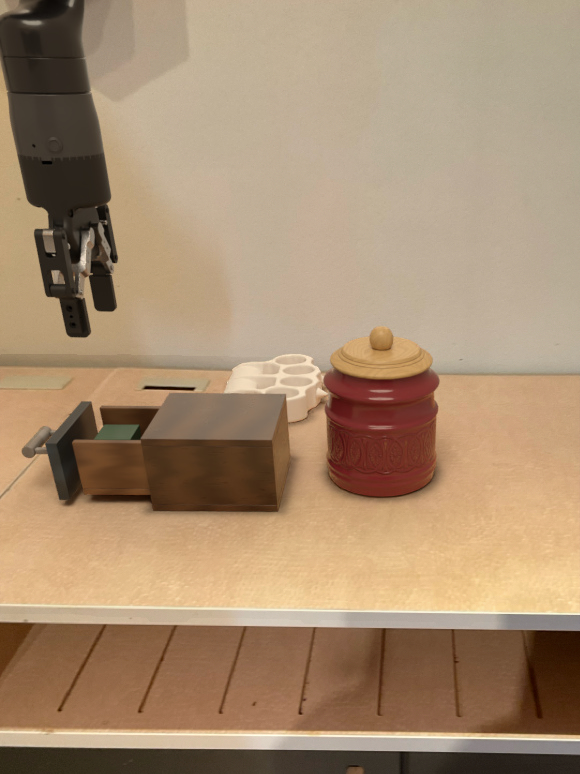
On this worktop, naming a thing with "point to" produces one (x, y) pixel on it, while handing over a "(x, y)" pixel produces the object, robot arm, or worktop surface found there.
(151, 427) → the cabinet
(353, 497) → the worktop surface
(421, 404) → the kitchen canister
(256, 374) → the white egg tray
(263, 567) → the worktop surface
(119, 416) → the drawer
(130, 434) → the block
